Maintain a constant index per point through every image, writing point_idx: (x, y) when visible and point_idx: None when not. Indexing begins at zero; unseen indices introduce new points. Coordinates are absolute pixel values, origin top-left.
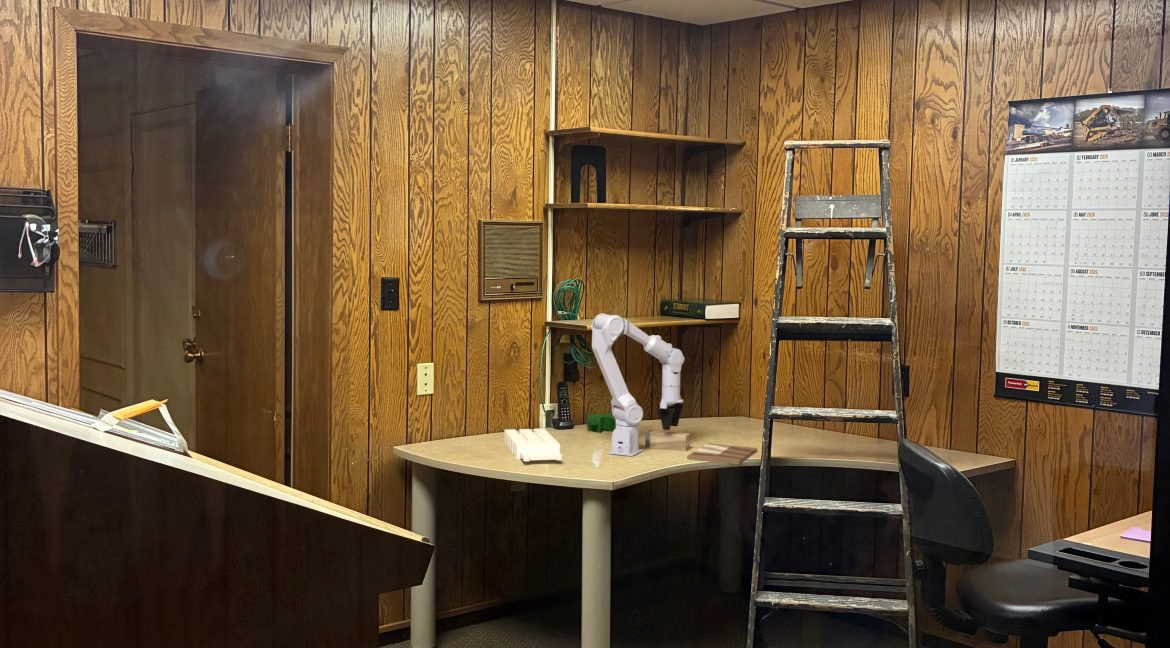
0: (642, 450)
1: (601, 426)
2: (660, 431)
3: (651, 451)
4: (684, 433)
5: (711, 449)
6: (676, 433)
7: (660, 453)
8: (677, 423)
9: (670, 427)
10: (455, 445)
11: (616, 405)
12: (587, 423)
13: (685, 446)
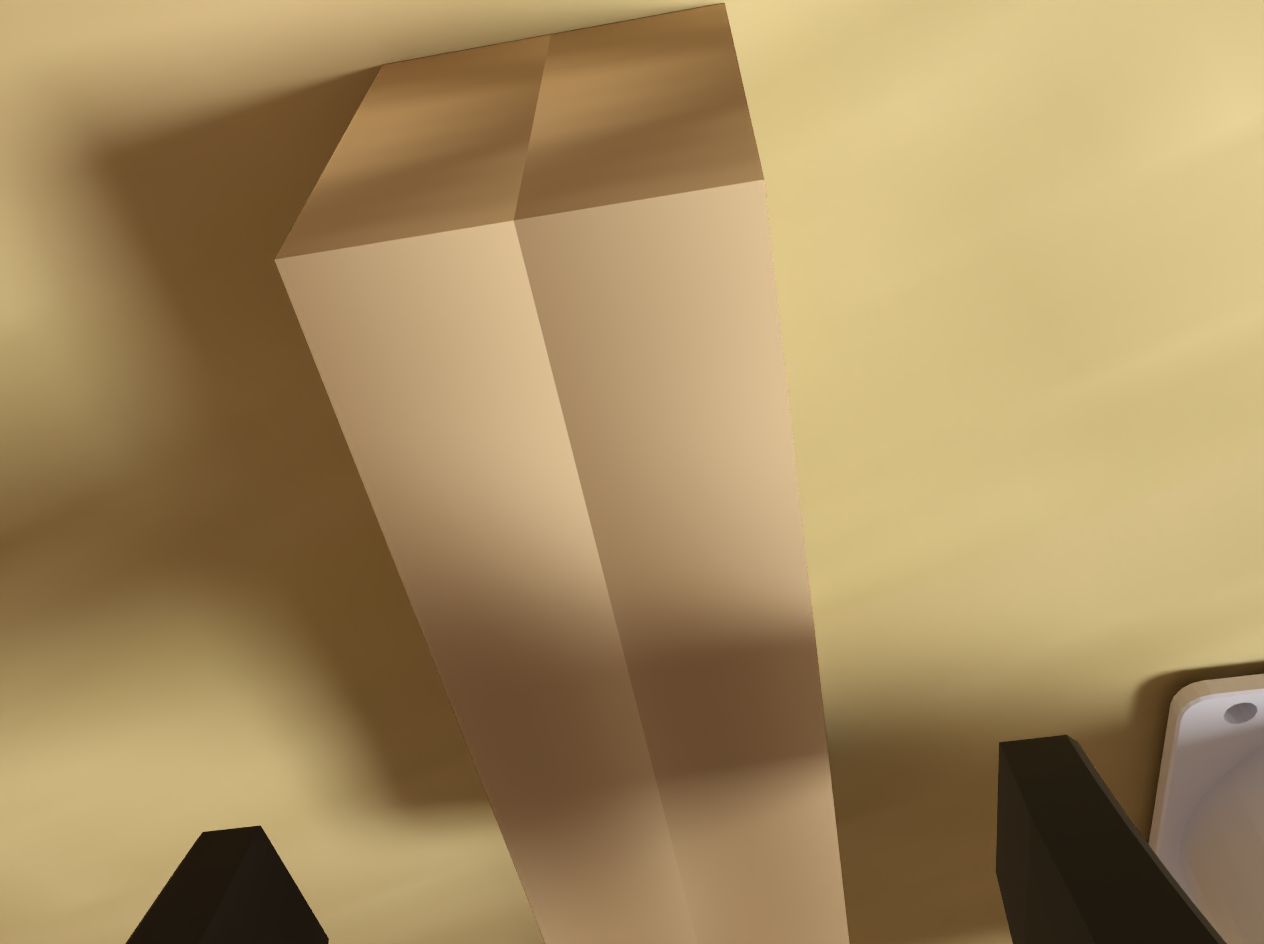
0: (1224, 684)
1: None
2: (592, 916)
3: (1109, 578)
4: (388, 423)
5: None
6: (571, 590)
7: (1248, 374)
8: (226, 903)
9: (1027, 799)
10: None
11: None
12: None
13: (733, 60)
